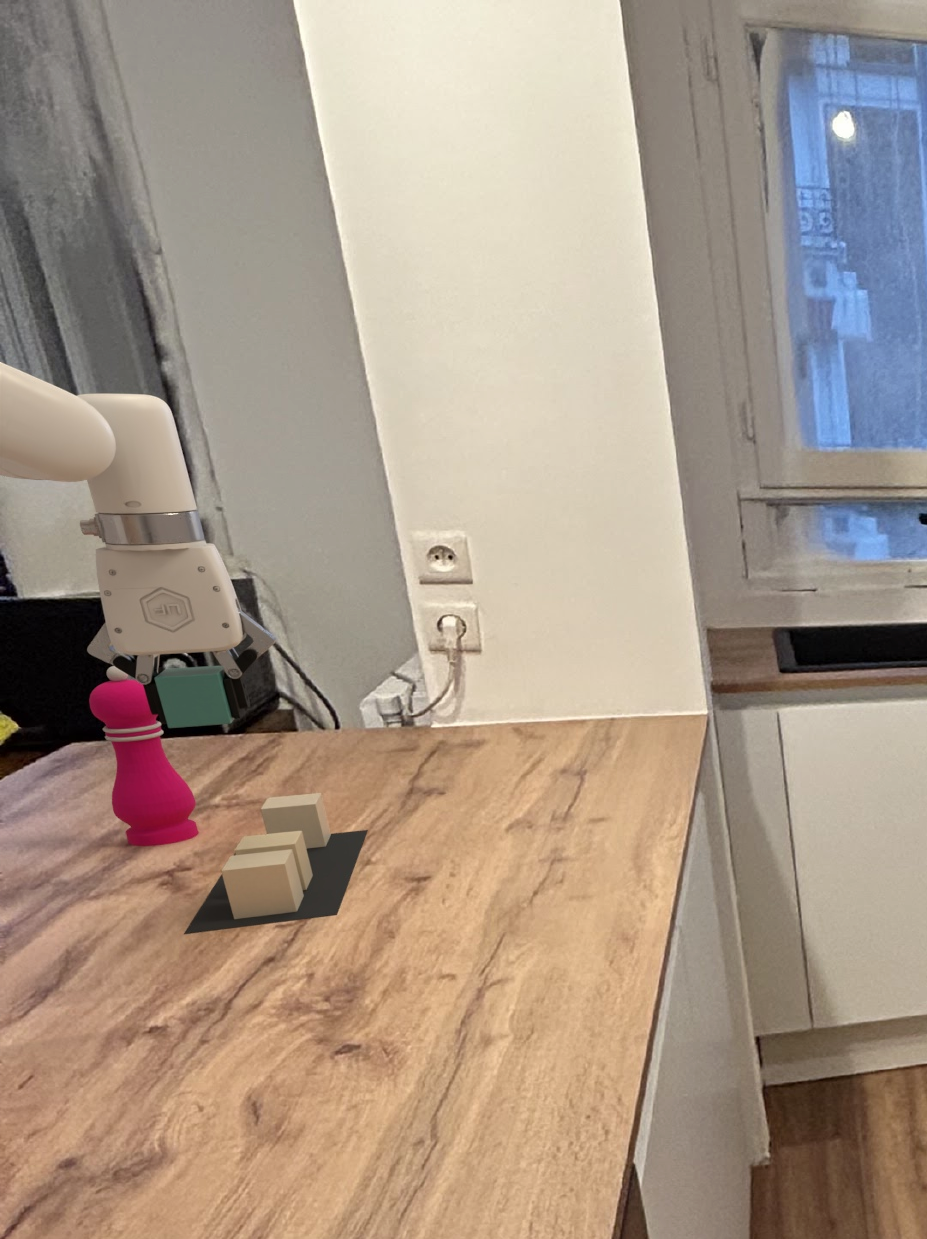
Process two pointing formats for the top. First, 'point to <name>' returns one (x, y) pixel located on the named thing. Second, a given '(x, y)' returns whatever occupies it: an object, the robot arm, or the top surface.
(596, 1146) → the top surface
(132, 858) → the top surface
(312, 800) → the cream block
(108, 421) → the robot arm
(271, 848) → the cream block
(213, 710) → the teal block
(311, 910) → the mat
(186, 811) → the pepper mill
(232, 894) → the cream block
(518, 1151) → the top surface
